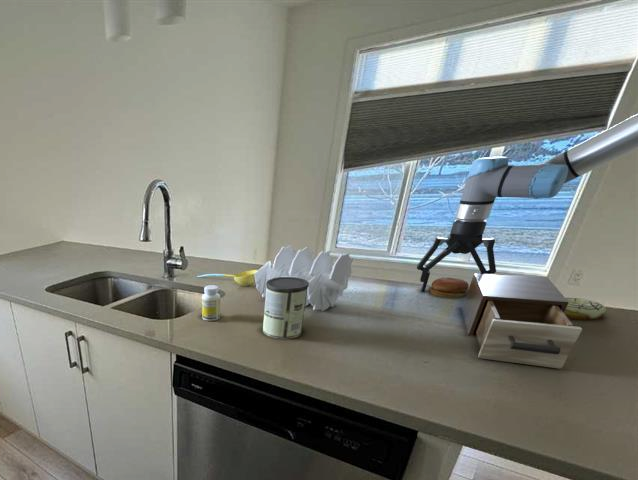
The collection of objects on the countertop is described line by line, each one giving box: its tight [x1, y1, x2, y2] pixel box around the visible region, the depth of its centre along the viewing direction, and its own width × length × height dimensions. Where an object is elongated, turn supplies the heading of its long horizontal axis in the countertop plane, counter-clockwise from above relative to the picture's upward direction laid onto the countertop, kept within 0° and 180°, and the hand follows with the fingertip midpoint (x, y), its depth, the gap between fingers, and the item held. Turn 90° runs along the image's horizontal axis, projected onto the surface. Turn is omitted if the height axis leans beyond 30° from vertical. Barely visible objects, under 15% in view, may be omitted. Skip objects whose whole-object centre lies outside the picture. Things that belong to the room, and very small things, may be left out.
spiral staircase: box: [254, 244, 354, 311], centre depth 123 cm, size 18×18×25 cm
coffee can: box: [262, 277, 309, 339], centre depth 107 cm, size 10×10×14 cm
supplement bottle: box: [201, 284, 221, 322], centre depth 122 cm, size 5×5×10 cm
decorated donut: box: [564, 296, 607, 321], centre depth 104 cm, size 10×11×4 cm
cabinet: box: [461, 273, 569, 337], centre depth 100 cm, size 20×15×11 cm
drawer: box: [475, 299, 583, 370], centre depth 88 cm, size 24×13×9 cm, turn 149°
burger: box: [428, 276, 470, 299], centre depth 123 cm, size 10×9×5 cm
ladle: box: [197, 269, 258, 287], centre depth 154 cm, size 9×26×6 cm, turn 44°
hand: (446, 293), depth 125 cm, fingers open, 12 cm apart
